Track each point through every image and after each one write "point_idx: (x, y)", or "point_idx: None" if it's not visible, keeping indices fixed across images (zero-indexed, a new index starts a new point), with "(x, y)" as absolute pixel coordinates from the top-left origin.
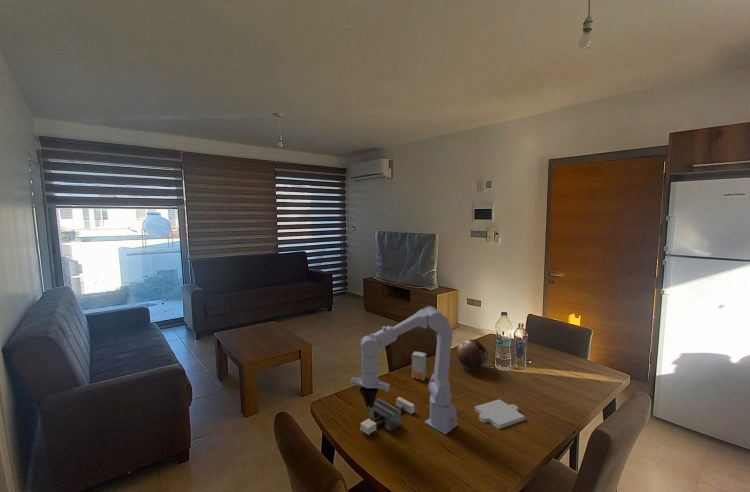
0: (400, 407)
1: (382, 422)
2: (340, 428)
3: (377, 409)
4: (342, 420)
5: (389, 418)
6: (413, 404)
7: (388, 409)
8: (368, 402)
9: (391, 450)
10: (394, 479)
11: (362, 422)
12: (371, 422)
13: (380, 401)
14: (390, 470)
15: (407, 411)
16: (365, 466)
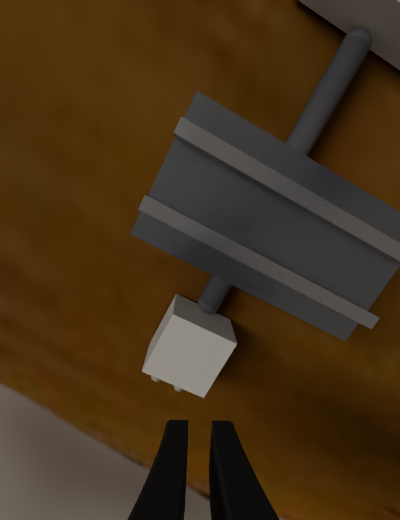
0: (330, 19)
1: None
2: (37, 349)
3: (223, 273)
4: (5, 286)
5: (339, 336)
6: None
7: (316, 244)
8: (184, 501)
9: (331, 406)
10: (365, 515)
11: (150, 364)
12: (205, 345)
13: (218, 159)
14: (345, 490)
15: (387, 59)
16: None
